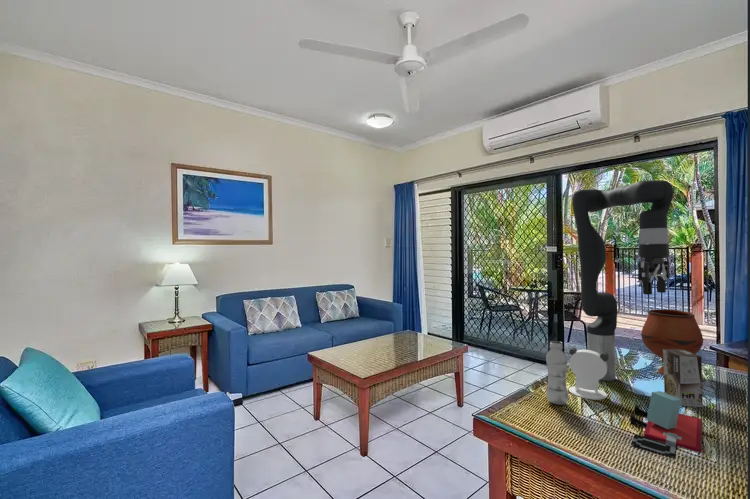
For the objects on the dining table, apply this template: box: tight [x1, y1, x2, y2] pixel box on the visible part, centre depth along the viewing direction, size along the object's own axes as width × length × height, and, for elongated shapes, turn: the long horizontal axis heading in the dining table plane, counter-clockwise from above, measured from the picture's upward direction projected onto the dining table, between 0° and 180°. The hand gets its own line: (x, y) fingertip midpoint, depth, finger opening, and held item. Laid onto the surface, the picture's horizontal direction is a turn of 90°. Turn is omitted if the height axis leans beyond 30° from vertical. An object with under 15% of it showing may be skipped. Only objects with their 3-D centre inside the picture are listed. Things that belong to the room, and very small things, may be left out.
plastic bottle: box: [545, 340, 569, 406], centre depth 116 cm, size 6×7×20 cm
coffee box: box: [662, 349, 704, 408], centre depth 116 cm, size 9×6×16 cm
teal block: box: [646, 390, 682, 429], centre depth 99 cm, size 5×5×8 cm
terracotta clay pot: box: [640, 309, 704, 376], centre depth 141 cm, size 19×19×25 cm
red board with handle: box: [629, 404, 702, 458], centre depth 98 cm, size 30×3×15 cm
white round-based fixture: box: [568, 346, 609, 401], centre depth 124 cm, size 12×11×15 cm
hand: (654, 293), depth 113 cm, fingers open, 8 cm apart
